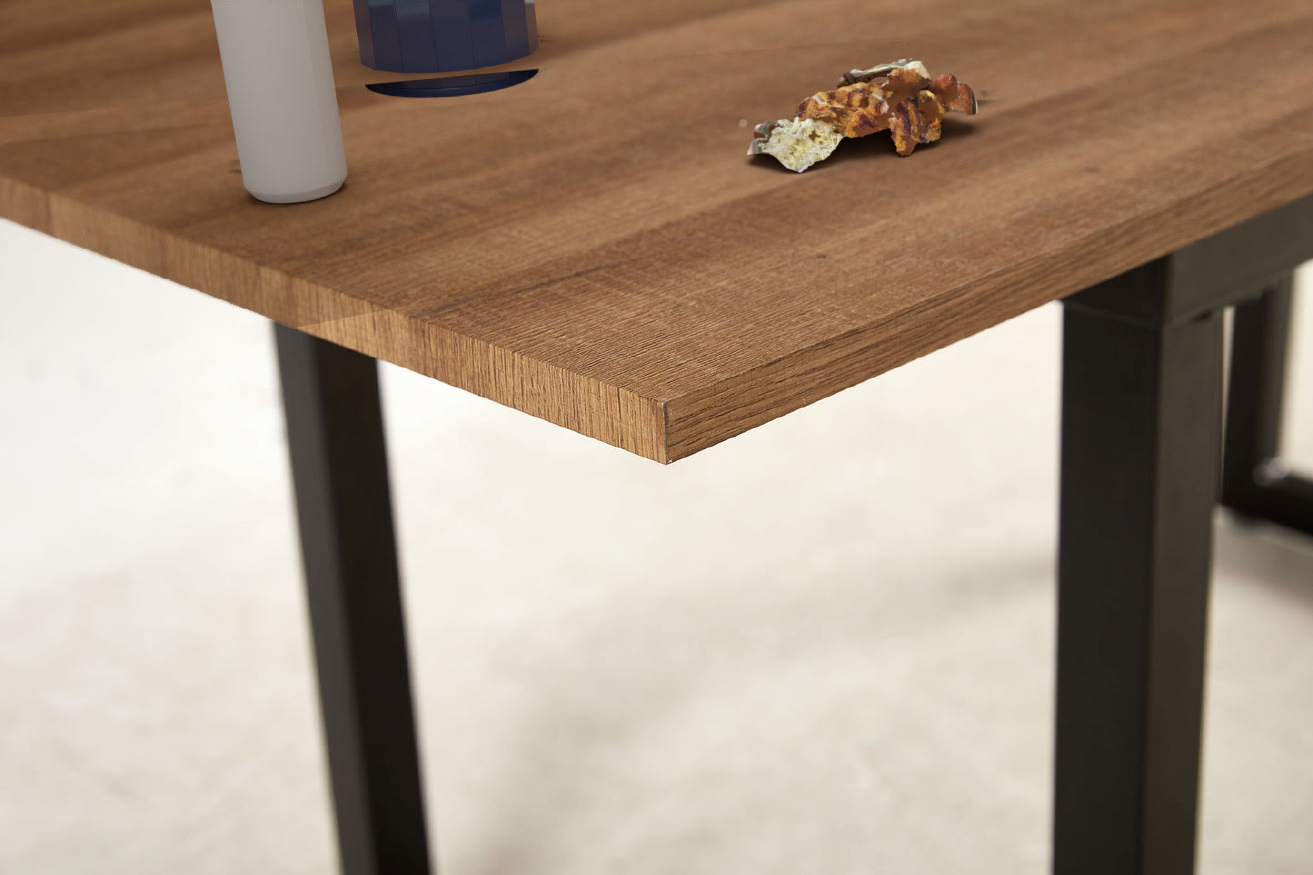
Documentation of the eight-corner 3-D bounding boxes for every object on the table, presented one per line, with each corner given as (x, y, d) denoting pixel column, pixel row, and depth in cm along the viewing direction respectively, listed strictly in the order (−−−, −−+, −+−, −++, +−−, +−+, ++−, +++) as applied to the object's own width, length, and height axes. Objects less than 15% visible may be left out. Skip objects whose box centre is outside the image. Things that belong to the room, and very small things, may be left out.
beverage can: (237, 186, 74) (190, -75, 69) (336, 169, 76) (297, -87, 71) (255, 212, 70) (206, -63, 65) (360, 194, 72) (320, -76, 67)
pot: (512, 97, 87) (496, -60, 83) (337, 98, 89) (315, -55, 85) (558, 55, 96) (546, -89, 93) (399, 57, 98) (381, -84, 95)
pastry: (721, 157, 74) (718, 82, 73) (883, 104, 81) (884, 35, 80) (833, 184, 69) (832, 104, 68) (995, 124, 77) (998, 51, 75)
